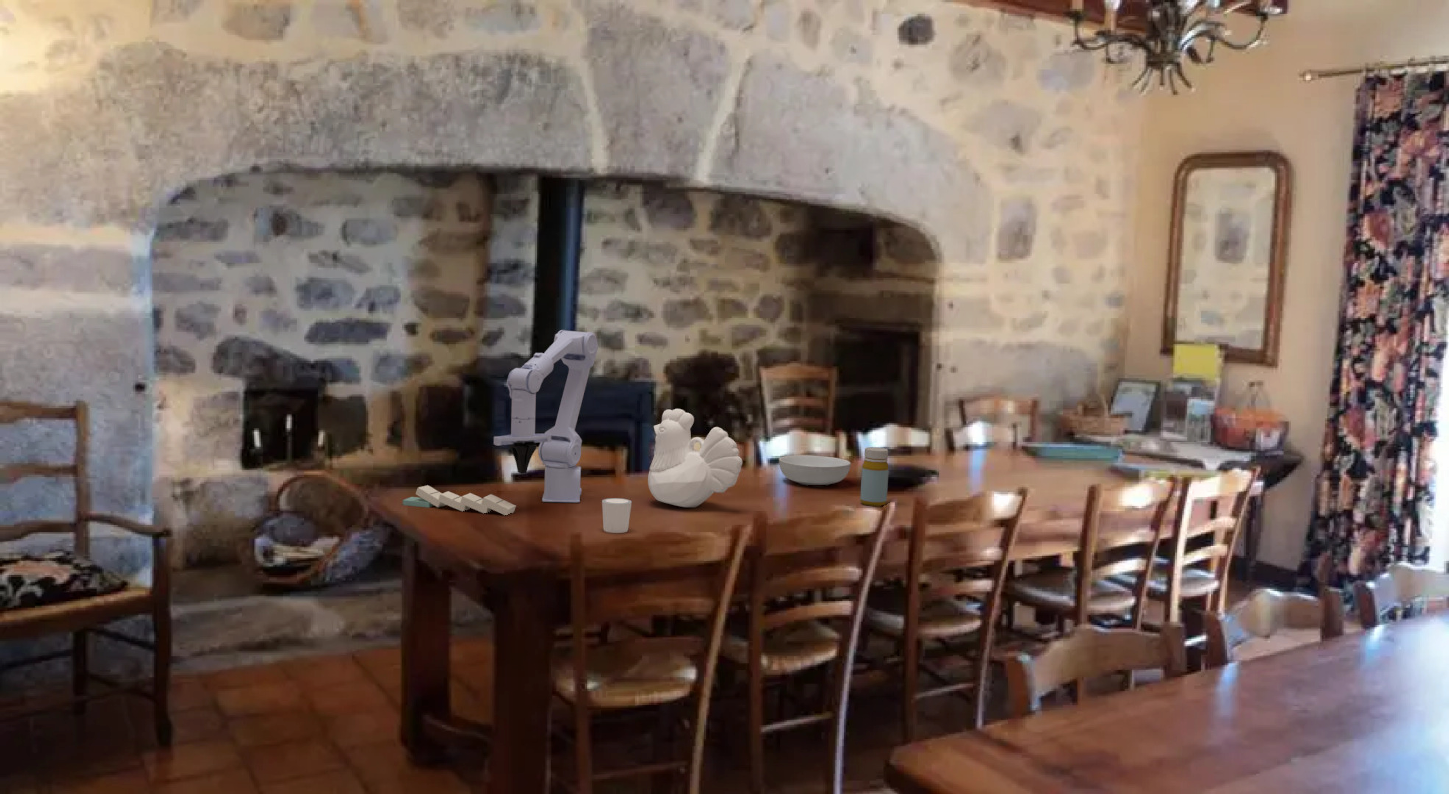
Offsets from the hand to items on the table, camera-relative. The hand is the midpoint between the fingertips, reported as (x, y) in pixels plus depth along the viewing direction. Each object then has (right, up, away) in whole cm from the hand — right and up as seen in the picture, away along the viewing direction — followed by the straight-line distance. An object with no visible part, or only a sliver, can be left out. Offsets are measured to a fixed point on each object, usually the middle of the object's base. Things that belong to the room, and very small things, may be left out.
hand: (522, 472), depth 291 cm
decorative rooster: (+41, -10, +15) cm, 45 cm away
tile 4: (-7, -9, -1) cm, 12 cm away
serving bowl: (+75, -7, +56) cm, 94 cm away
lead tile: (-2, -9, -3) cm, 10 cm away
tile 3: (-13, -8, 0) cm, 16 cm away
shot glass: (+24, -13, -14) cm, 31 cm away
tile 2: (-20, -8, +2) cm, 21 cm away
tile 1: (-22, -8, +3) cm, 24 cm away
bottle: (+89, -11, +30) cm, 95 cm away
